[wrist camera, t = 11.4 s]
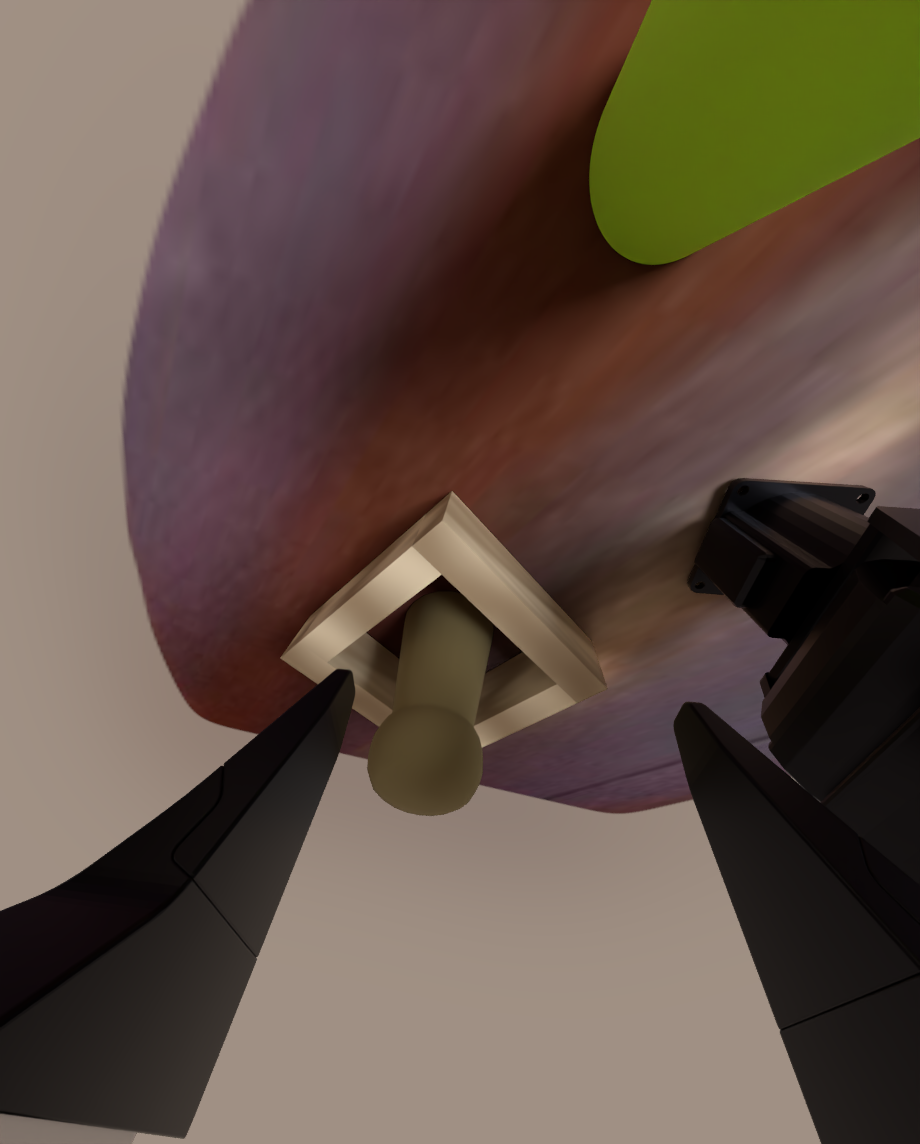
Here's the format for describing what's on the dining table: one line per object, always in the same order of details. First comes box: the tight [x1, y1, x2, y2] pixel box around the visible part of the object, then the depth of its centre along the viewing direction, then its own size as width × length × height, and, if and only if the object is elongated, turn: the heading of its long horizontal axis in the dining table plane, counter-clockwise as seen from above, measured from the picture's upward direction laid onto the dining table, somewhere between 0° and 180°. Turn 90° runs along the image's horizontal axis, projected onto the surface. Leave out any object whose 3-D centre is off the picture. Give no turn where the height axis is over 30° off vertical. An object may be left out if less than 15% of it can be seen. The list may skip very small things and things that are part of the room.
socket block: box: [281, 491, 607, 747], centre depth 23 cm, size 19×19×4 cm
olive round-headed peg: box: [367, 591, 493, 816], centre depth 20 cm, size 6×6×11 cm
